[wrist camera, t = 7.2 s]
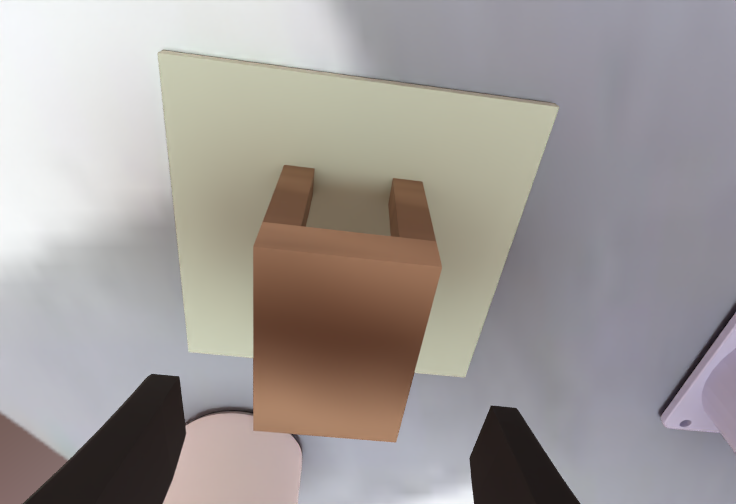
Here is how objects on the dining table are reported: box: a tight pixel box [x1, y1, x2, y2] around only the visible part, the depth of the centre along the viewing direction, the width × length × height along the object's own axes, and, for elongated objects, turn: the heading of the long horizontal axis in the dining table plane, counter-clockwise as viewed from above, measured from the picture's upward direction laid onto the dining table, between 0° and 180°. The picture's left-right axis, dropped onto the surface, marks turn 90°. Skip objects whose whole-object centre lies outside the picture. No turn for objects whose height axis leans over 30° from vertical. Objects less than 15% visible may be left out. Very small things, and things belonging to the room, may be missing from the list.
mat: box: [158, 50, 559, 377], centre depth 17 cm, size 12×12×1 cm
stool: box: [253, 165, 442, 442], centre depth 15 cm, size 7×5×5 cm, turn 173°
